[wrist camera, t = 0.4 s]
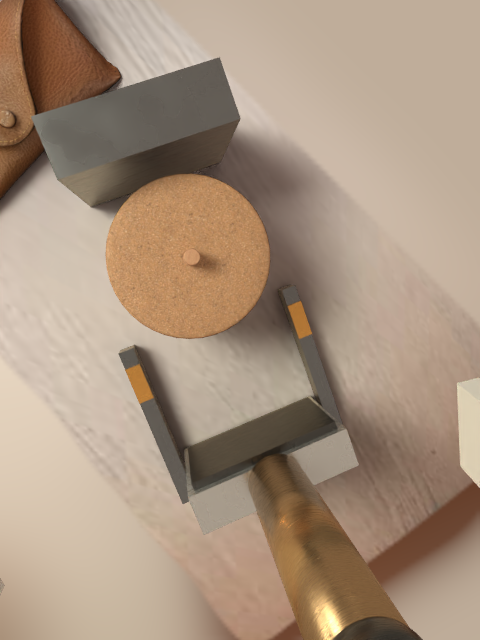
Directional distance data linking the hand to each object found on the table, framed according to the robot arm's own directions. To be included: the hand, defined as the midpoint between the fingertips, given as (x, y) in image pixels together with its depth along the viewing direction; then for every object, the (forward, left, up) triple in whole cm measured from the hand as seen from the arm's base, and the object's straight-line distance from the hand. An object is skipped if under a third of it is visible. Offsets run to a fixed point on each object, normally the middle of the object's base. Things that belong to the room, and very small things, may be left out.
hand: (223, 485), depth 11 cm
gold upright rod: (+10, +2, -25) cm, 27 cm away
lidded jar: (-6, +2, -25) cm, 26 cm away
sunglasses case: (-21, -7, -26) cm, 34 cm away
